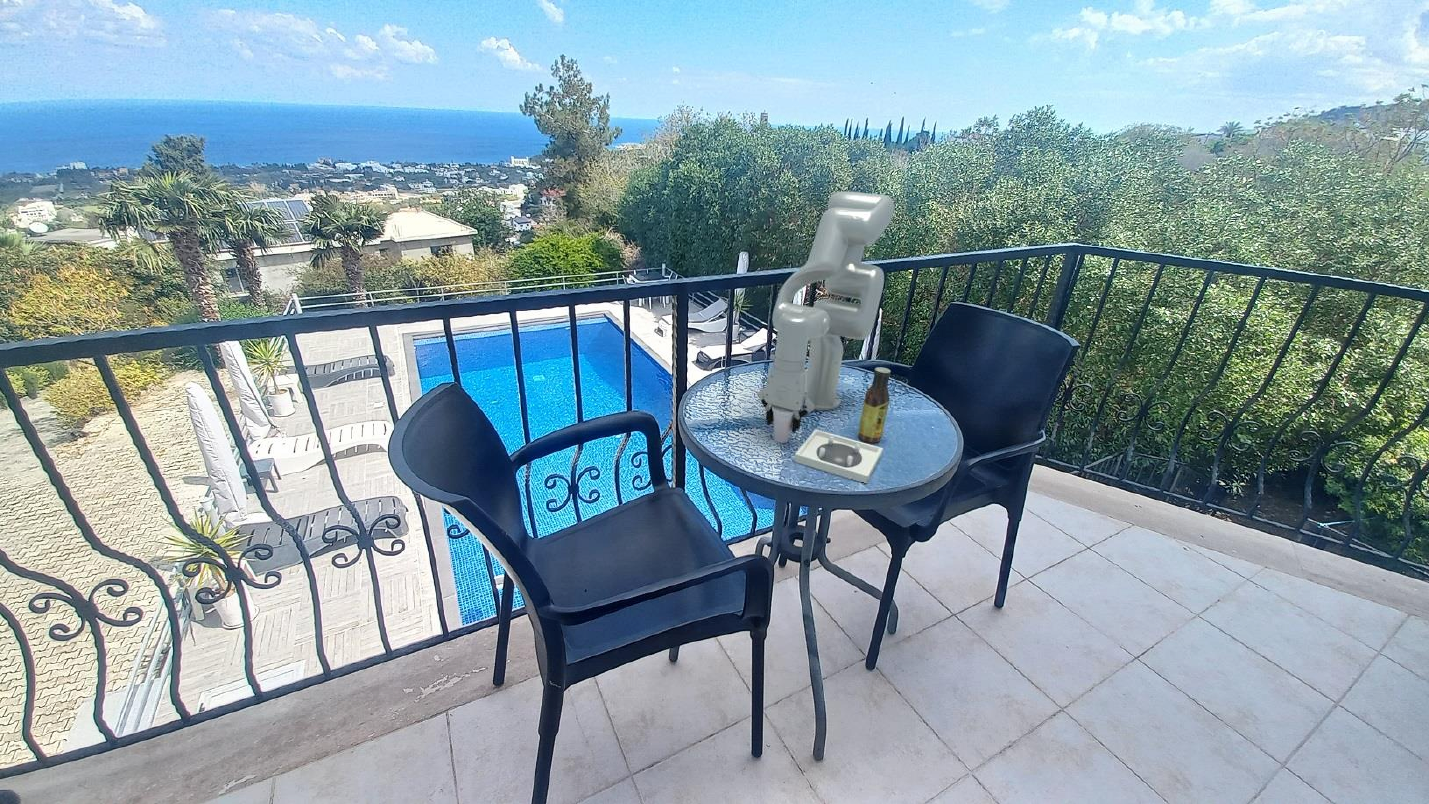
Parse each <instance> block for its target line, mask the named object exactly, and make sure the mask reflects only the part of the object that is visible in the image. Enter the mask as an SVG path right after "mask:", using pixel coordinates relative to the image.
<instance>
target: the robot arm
mask: <svg viewBox="0 0 1429 804" xmlns="http://www.w3.org/2000/svg"><path fill="white" fill-rule="evenodd" d="M894 212H895V203H894V201H893V199H892V198H891V196H888V195H886V194H877V193H868V192H858V191H838V192H834V193H833V194H831V195H830V196H829V199H828V203H827V210H825V211H824V212H823V214H822V216H821V218H820V220H819V225H818V228H817V231H816V233H815V235H814V236H815V237H814V240H813V243H812V245H811V250H810V252H809V255H808V259H807V261H806V263H805V264H804V265H803V266H802V267H800V268H799V269H797V270H796V271H795V272H793V273H792V275H791V276H789V278H788V279H787V280H786V281H785V282H784V284H783V285H782V286H781V288H780V290H779V293H778V296H777V299H776V302H775V305H774V308H773V313H772V318H771V319H772V325H773V327H774V329H776V330H777V337H776V346H775V347H776V348H775V353H774V354H773V353H772V354H770V356H769V360H771V361H772V362H773V364H772V365H771V366H770V368H769V371H768V374H767V377H766V384H765V387H764V388H762V389H761V390H759V391H758V392H757V393H756V396H757V397H758V399H759V400H760V402H761V404H762V405H763V407H764V410H765V411H766V413H765V420H766V425H767V426H771V424H773V423H774V420H773V411H772V407H773V405H775V406H778V407H782V408H786V409H790V410H793V411H794V414H795V416H794V419H793V423H792V427H791V432H792V433H796V431H797V430H800V428H801V422H802V418H804V417H805V416H807V415H808V414H810V413H811V412H813V411H814V410H817V411H830V410H835V409H837V408H839V406H840V404H841V399H840V397H839V396H838V395H837V392H838V386H839V379H840V374H841V367H842V366H841V365H842V360H843V355H844V346H843V342H842V339H841V338H840V337H845V338H849V339H854V340H858V341H859V340H860V341H863V340H866V339H868V338H869V336H870V335H871V333H872V331H873V328H874V325H875V322H876V317H877V314H878V309H879V307H880V306H879V305H880V302H881V297H882V293H883V289H884V283H885V274H884V271H883V269H882V268H880V267H879V266H877V265H873V264H866V263H862V259H863V256H864V255H863V254H864V250H865V247H870V246H871V245H873V244H874V243H875V242H876V241H877V240H878V239H879V238H880V237H881V236H882V234H883V232H885V230H886V229H887V227H888V226H889V224H890V223H891V220H892V219H893V216H894ZM821 281H824V287H825V290H826V291H827V292H828V293H830V294H831V295H832V294H833V295H835V296H840V297H846V298H851V299H857V300H859V301H860V304H857V303H853V302H849V301H843V300H839V299H831V298H823V299H819V300H818V301H816V302H815V303H814V304H813V306H807V305H802V304H798V303H792V302H793V299H794V297H796V295H797V293H798V292H799V291H800V290H801V289H803V288H804V287H806V286H808V285H811V284H814V283H817V282H821ZM809 341H810V347H809V356H808V361H807V369H806V360H807V353H808V352H807V351H808V345H809ZM803 406H804V407H806V408H804V409H803Z"/></svg>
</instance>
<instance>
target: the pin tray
mask: <svg viewBox="0 0 1429 804" xmlns="http://www.w3.org/2000/svg"><path fill="white" fill-rule="evenodd" d="M883 450H884V448H883V447H880V446H876V445H872V444H870V443H867V442H866V443H865V442H864V441H863V442H861V441H858V440H855V439H851V438H848V437H844V436H840V435H837V434H834V433H830V432H826V431H823V430H820V429H817V428H816V429H814V430H813V431H812V432H811V434H810V435H809V436H808V437H807V439H806V440H805V441H804V442H803V444H802V445H801V446H800V448H798V450H797V451H796V452H795V454H794V459H793V461H794V463H797V464H800V465H805V466H807V467H810V468H813V469H817V470H820V471H823V472H826V473H829V474H833V475H836V476H838V475H839V477H842V478H845V479H849V480H851V479H853V480H852V481H854V480H857V481H861V482H864V483H867V484H868V482H869V480H870V478H871V477H872V474H873V473H872V472H874V471H873V470H875V469H876V467H877V464H878V463H879V461H880V459H881V457H882V455H883V454H882V453H883ZM879 458H880V459H879ZM875 466H876V467H875ZM874 468H875V469H874ZM857 481H856V482H857ZM861 482H860V483H861ZM864 483H863V484H864Z"/></svg>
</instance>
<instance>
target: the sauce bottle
mask: <svg viewBox="0 0 1429 804" xmlns="http://www.w3.org/2000/svg"><path fill="white" fill-rule="evenodd" d="M891 371H892V370H890V369H889V368H887V367H883V366H882V367H881V366H880V367H878V366H877V367H875V368H874V371H873V372H874V373H873V374H874V375H873V380H872V383H871V384H872V385H870V387H868V389H867V390H866V393H865V397H864V400H863V401H864V402H863V404H862V411H861V415H860V421H859V425H858V433H857V435H858V436H857V437H858V439H860V440H862V441H863V442H866V443H868V444H870V443H873V444H874V443H878V442H880V441H881V438H882V436H883V433H884V428H885V423H886V419H887V414H888V408H889V405H890V399H891V398H890V396H889V395H890V394H889V388H888V386H889V381H890V377H891V374H892V372H891Z"/></svg>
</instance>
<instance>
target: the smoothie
mask: <svg viewBox="0 0 1429 804" xmlns="http://www.w3.org/2000/svg"><path fill="white" fill-rule="evenodd" d="M772 411H773V420H774V421H773V440H774V442H776V443H779V444H780V443H781V444H785V443H787V442H788V441H789V437H790V434H791V432H792V424H793V419H794V418H795V414H794V411H793V410H790V409H786V408H782V407H778V406H775V405H773V407H772Z"/></svg>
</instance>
